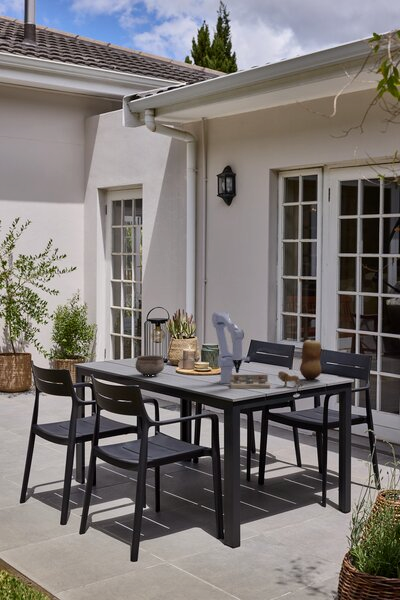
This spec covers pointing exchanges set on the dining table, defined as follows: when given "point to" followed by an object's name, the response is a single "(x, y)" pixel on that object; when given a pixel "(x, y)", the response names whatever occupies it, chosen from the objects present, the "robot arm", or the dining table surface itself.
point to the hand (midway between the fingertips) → (237, 372)
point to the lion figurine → (288, 378)
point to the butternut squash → (311, 359)
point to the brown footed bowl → (149, 364)
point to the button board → (244, 378)
